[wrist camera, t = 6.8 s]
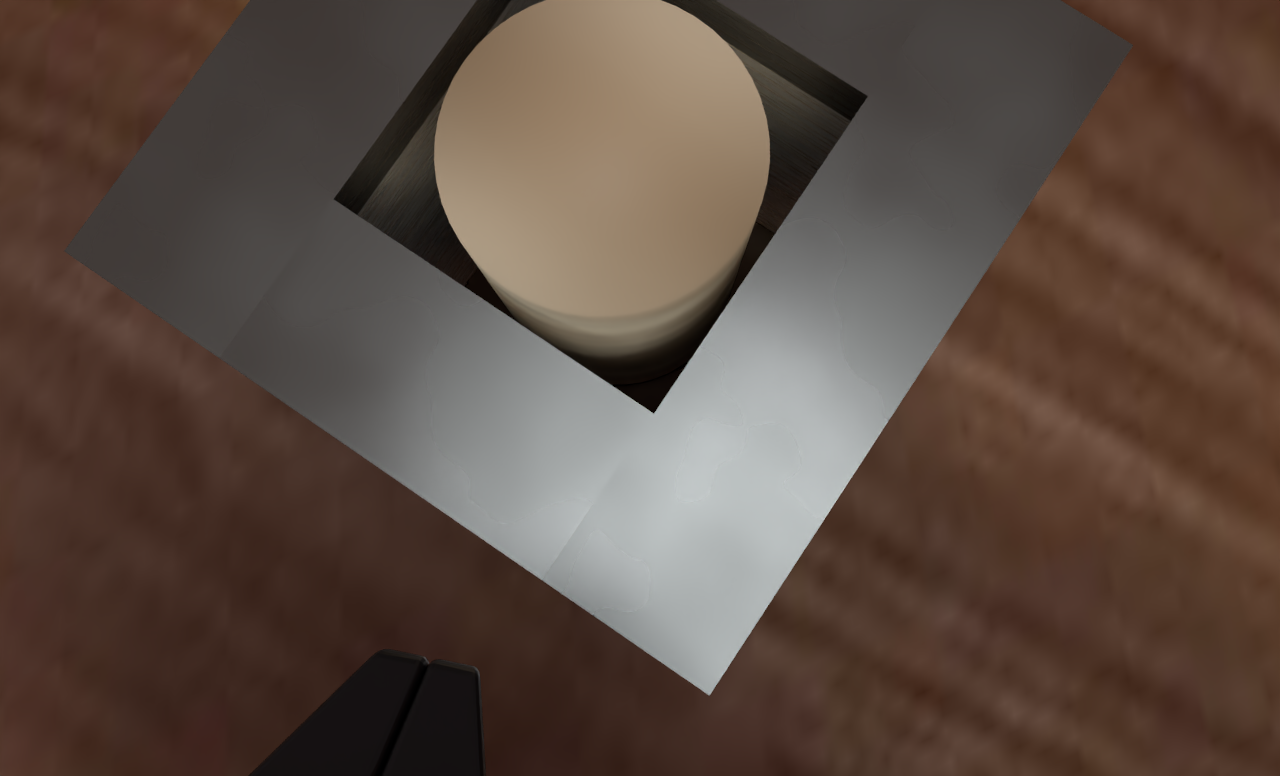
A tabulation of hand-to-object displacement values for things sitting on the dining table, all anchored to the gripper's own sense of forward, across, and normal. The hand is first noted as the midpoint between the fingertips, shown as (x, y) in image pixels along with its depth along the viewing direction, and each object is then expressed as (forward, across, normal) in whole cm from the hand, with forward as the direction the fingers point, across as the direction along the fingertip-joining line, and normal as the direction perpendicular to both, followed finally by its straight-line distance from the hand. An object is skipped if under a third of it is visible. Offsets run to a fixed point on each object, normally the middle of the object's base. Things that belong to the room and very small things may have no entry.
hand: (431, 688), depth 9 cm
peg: (+14, 0, +4) cm, 14 cm away
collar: (+14, 0, +4) cm, 14 cm away
